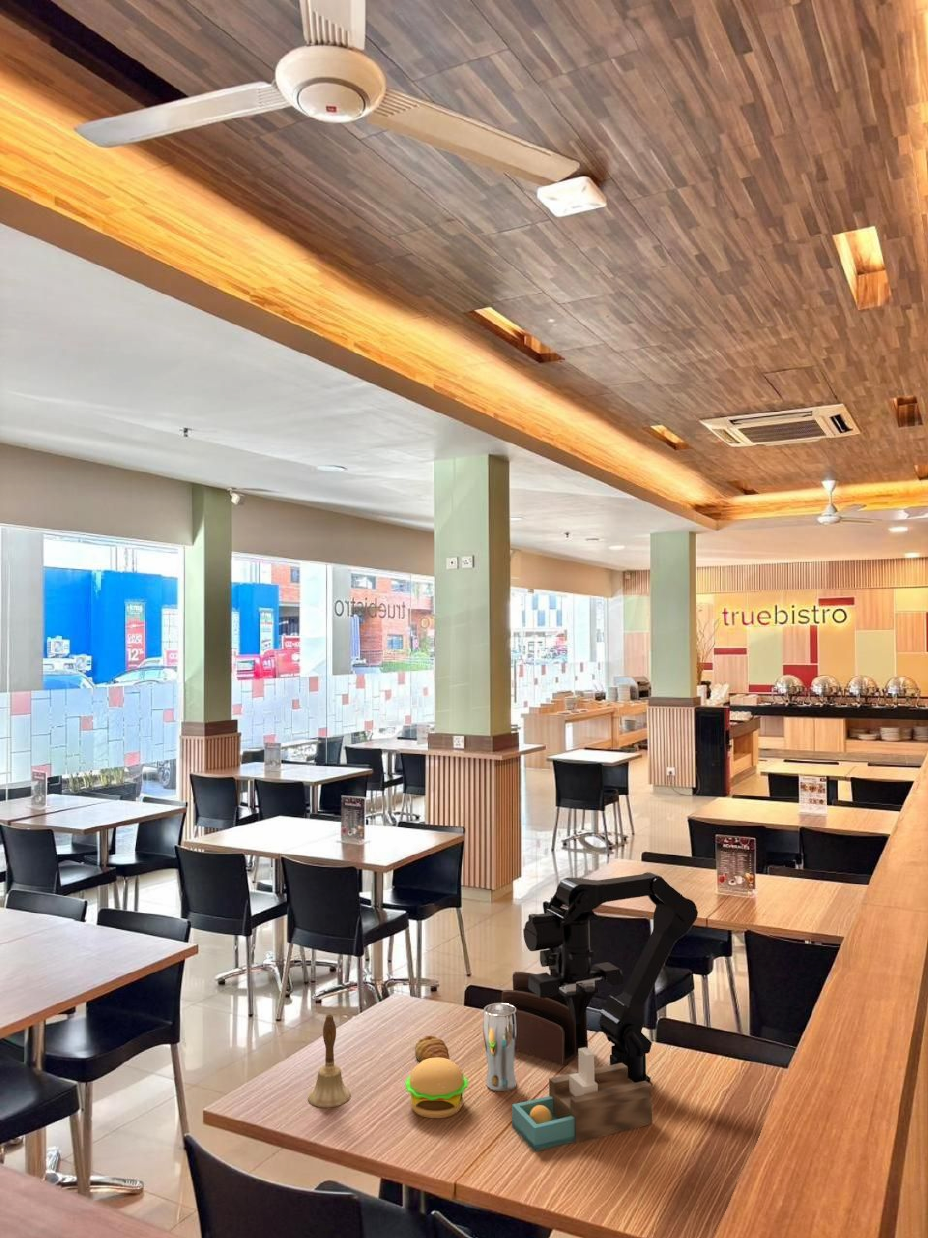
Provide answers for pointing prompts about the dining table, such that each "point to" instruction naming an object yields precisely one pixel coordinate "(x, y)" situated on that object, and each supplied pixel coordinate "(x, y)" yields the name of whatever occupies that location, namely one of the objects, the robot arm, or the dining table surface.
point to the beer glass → (500, 1045)
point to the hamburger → (436, 1088)
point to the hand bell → (329, 1074)
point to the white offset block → (583, 1074)
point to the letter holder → (545, 1023)
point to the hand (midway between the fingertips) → (576, 1023)
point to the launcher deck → (604, 1103)
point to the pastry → (431, 1048)
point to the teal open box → (542, 1125)
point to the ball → (540, 1114)
